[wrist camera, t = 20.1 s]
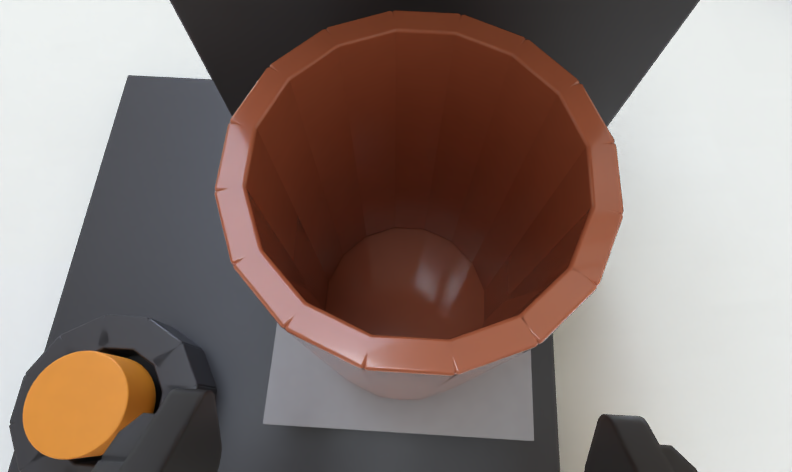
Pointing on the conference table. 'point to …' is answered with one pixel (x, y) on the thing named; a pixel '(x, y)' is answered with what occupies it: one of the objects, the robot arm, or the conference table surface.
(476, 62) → the tumbler
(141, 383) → the brew button
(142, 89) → the coffee maker base
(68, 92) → the conference table surface
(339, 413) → the coffee maker
